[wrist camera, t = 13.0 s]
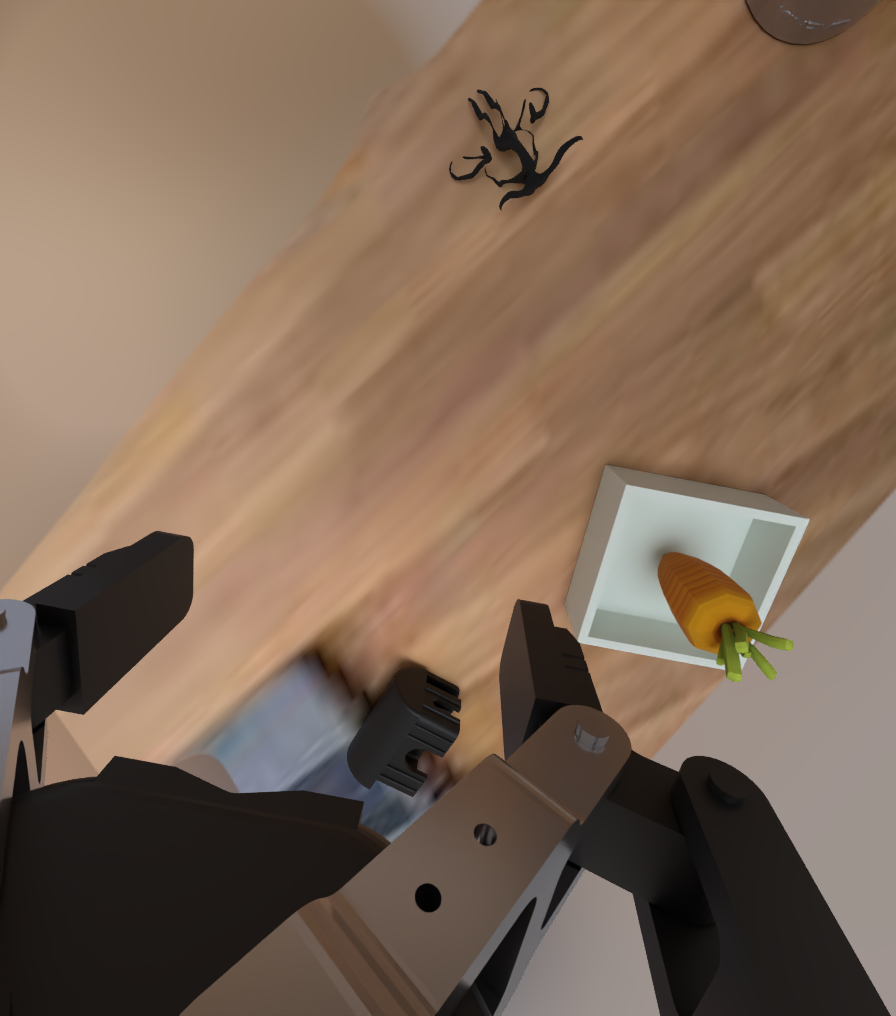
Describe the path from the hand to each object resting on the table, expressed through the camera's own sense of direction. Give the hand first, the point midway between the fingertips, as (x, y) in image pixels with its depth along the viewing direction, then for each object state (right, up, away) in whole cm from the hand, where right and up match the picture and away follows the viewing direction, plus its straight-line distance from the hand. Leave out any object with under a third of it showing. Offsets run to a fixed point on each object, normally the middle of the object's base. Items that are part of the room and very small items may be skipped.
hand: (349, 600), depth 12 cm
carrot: (+21, -2, +30) cm, 37 cm away
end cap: (-2, -17, +38) cm, 42 cm away
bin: (+21, -2, +31) cm, 38 cm away
